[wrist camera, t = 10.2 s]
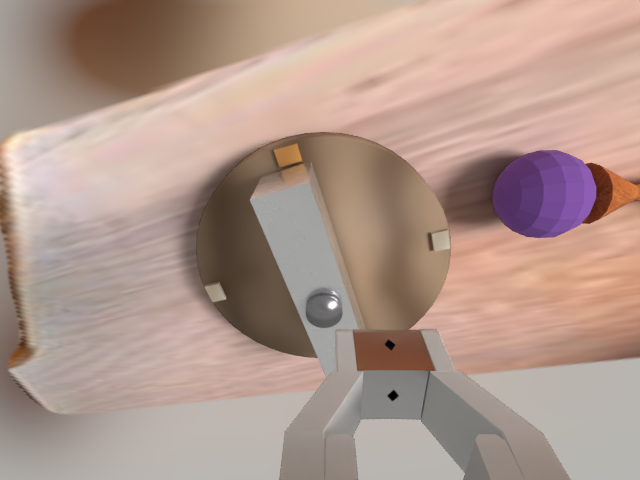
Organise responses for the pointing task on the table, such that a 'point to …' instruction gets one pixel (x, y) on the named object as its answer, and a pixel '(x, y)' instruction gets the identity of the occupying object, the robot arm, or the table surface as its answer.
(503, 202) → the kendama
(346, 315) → the bar
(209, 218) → the lock plate
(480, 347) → the table surface
